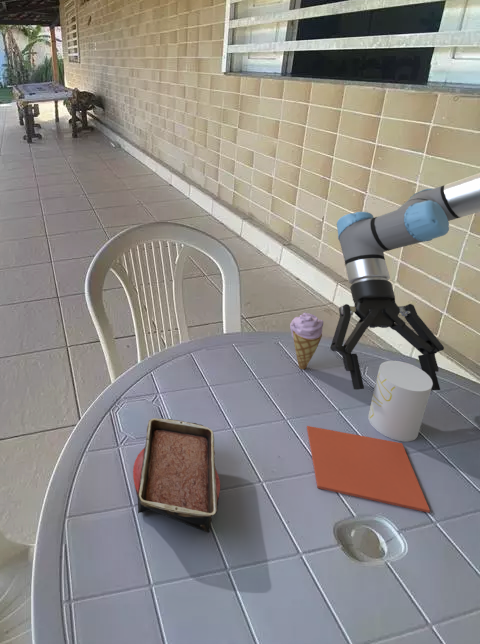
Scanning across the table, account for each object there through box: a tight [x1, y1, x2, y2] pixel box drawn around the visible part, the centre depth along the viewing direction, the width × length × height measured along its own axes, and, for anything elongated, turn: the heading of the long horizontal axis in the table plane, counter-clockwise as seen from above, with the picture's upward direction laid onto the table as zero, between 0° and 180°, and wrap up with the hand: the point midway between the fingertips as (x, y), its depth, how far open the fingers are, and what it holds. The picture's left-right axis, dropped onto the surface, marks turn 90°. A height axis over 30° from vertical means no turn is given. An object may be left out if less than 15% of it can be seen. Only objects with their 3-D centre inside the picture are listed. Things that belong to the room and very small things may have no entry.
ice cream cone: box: [289, 311, 324, 370], centre depth 96 cm, size 7×6×15 cm
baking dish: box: [132, 417, 221, 533], centre depth 71 cm, size 14×18×10 cm
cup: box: [367, 360, 433, 443], centre depth 81 cm, size 8×8×12 cm
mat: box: [306, 425, 431, 514], centre depth 75 cm, size 16×13×1 cm
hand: (396, 389), depth 81 cm, fingers open, 13 cm apart
